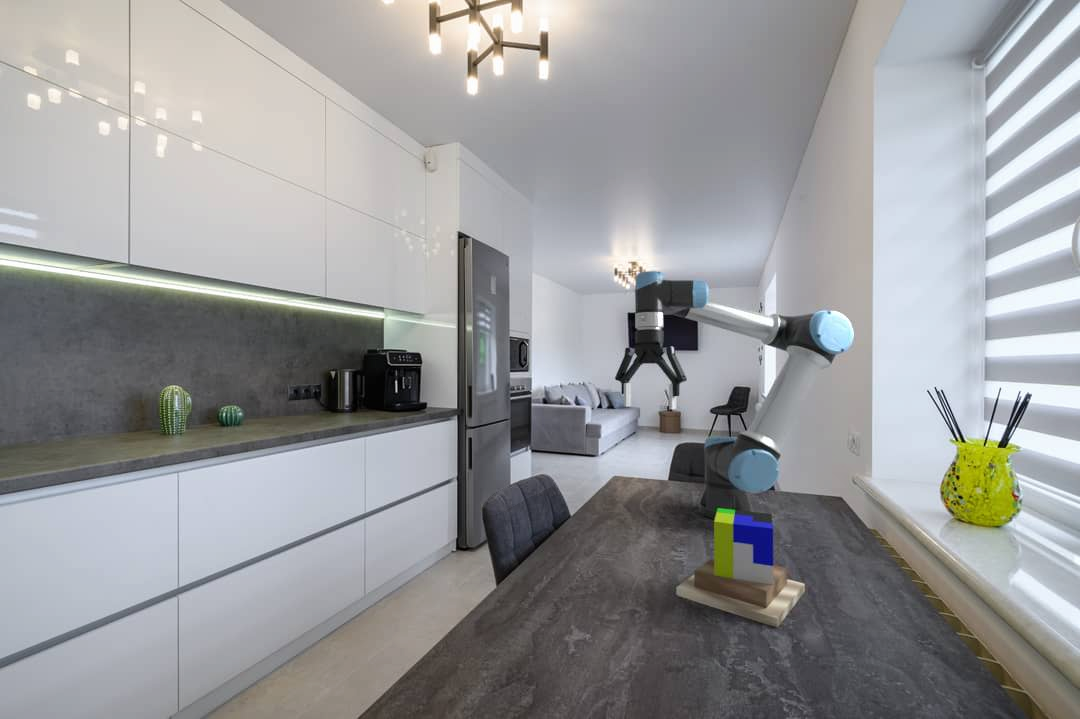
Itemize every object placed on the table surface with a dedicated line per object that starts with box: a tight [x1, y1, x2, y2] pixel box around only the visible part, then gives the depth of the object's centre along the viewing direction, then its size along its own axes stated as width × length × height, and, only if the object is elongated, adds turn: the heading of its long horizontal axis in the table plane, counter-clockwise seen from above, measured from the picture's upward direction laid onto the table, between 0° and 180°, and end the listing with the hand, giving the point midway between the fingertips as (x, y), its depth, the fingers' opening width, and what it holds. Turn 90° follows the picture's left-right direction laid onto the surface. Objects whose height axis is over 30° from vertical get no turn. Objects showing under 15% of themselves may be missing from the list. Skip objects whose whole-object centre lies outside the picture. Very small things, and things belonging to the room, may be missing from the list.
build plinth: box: [675, 556, 806, 628], centre depth 95 cm, size 18×18×4 cm
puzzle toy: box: [713, 508, 774, 585], centre depth 96 cm, size 10×10×10 cm
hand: (649, 407), depth 134 cm, fingers open, 13 cm apart
